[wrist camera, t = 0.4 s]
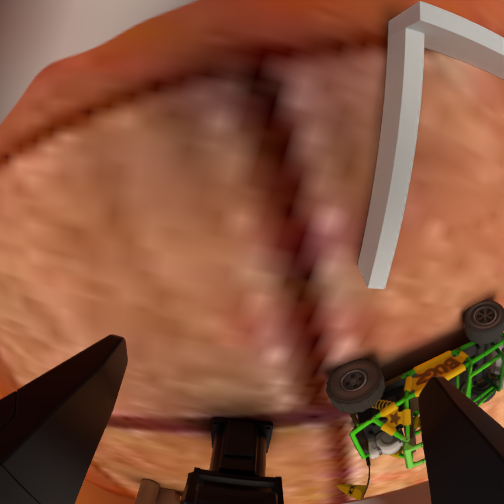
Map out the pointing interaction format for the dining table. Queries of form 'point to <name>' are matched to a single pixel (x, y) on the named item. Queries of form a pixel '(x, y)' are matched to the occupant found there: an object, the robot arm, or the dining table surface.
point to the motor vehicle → (416, 390)
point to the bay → (412, 117)
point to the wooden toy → (155, 494)
